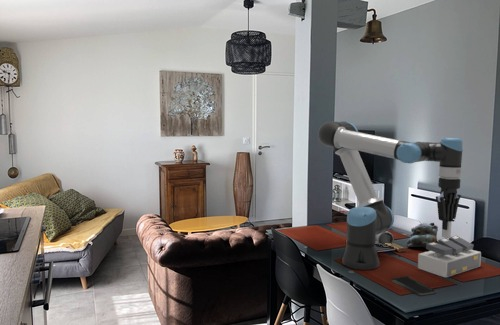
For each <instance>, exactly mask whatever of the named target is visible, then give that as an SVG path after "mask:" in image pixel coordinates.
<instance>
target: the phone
mask: <svg viewBox="0 0 500 325" xmlns="http://www.w3.org/2000/svg"><path fill="white" fill-rule="evenodd" d="M391 282H392V283H394V284H396V285H398V286H400V287H401V288H403V289H404V290H407V291H409V292H411V293H412V294H413V295H416V296H418V297H423V296H424V297H425V296H430V295H435V294H436V293H437V290H435V289H434V288H432V287H430V286H428V285H426V284H425V283H422V282H420V281H418V280H416V279H414V278H412V277H410V276H406V275H404V276H398V277H392V278H391Z"/></svg>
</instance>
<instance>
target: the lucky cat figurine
mask: <svg viewBox="0 0 500 325" xmlns="http://www.w3.org/2000/svg"><path fill="white" fill-rule="evenodd" d="M438 228H439V227H438V225H435V223H434V222H430V223H427V222H426V223H425V222H424V223H419V224H417V225H415V226H414V227H412V228H411V232H410V235H409V237H410V238H408V239H407V241H406V247H408V248H426V244H429V243H433V242H435V243H438V238H437V235H438V231H439V229H438Z"/></svg>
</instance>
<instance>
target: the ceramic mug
mask: <svg viewBox="0 0 500 325" xmlns="http://www.w3.org/2000/svg"><path fill="white" fill-rule="evenodd" d="M394 241H395V238H394V235H393V234H392V233H391V232H389V230H387V231H386V232H383V233H380V234H378V235H376V238H375V244H377V245H379V246H380V243H382V244H385V243H391V244H392V245H393V244H394Z"/></svg>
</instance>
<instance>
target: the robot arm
mask: <svg viewBox="0 0 500 325" xmlns="http://www.w3.org/2000/svg"><path fill="white" fill-rule="evenodd" d="M317 138H318V141H319V142H320V144H321V145H323V146H324V147H327V148H333V152H334V154H335V155H337V156H339V158H340V160H341V163H342V164H343V167H344V170H345V172H346V174H347V177H348V179H349V182H350V185H351V187H352V190H353V191H354V194H355V197H356V199H357V201H358V207H357V206H355V207H352V208H350V209H349V210H348V211H347V216H346V246H345V249H344V252H343V254H342V260H341V261H342V262H341V264H342V265H344V266H345V267H348V268H350V269H354V270H362V271H363V270H364V271H366V270H367V271H368V270H369V271H370V270H375V269H377V268H379V266H380V258H379V256H378V251H377V249H376V245H375V242H376V241H375V238H376V235H378V234H380V233H383V232H386V231H389V230H390V229H391V228H392V227H393V225H394V222H395V215H394V212H393V211H392V209H391V208H390V207H388V206H387V205H386V204H385V202H384V200H383V199H382V198H380V197H378V195H377V192H376V190H375V187H374V185H373V183H372V180H371V178H370V176H369V174H368V171H367V169H366V167H365V163H364V162H363V159H362V157H361V155H360V152H363V153H366V154H367V153H368V154H371V155H376V156H380V157H385V158H390V159H394V160H398V161H400V162H402V163H403V164H414V163H419V162H437V163H438V162H439V166H438V167H439V169H438V176H439V178H438V183H437V184H438V185H437V186H438V187H439V188H440V191H439V192H440V193H439V195H437V196H435V200H436V205H437V215H438V220H439V221H441V225H442V226H441V238H443V239H444V238H447V239H449V238H450V237H452V235H451V234H452V222H456V218H457V211H458V208H459V203H460V199H461V197H462V195H461V194H458V189H460V188H461V179H460V178H461V174H462V163H463V162H462V160H463V151H464V150H463V139H461V138H459V137H442V138H441V139H440V142H432V141H431V142H429V141H411V142H410V141H405V140H399V139H394V138H390V137H384V136H379V135H374V134H370V133H369V134H368V133H365V132H360V131H359V130H358V129H357V127H356V126H355V124H354V123H351V122H347V121H326V122H325V123H323V124H321V125H320V127H319V129H318V131H317Z"/></svg>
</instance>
